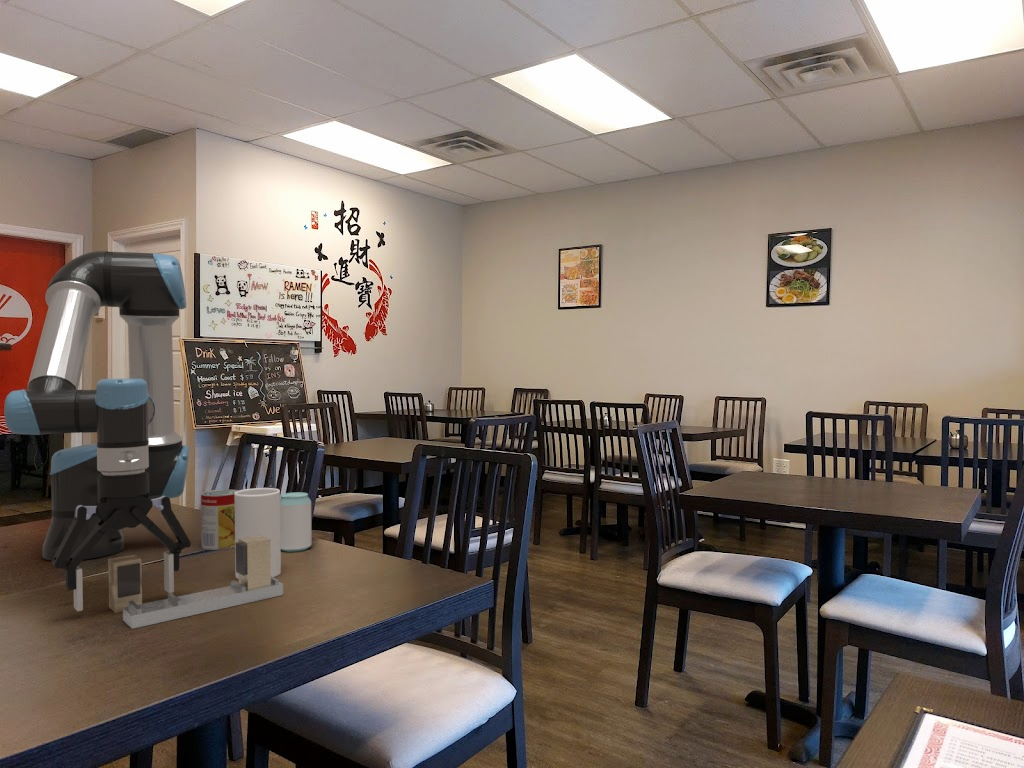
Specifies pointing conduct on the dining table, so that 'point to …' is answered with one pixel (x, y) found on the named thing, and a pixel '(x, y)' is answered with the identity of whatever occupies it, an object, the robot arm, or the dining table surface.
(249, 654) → the dining table surface
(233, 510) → the canned food
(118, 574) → the block
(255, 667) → the dining table surface
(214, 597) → the rail
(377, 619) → the dining table surface
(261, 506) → the cup
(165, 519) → the robot arm
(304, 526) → the can
